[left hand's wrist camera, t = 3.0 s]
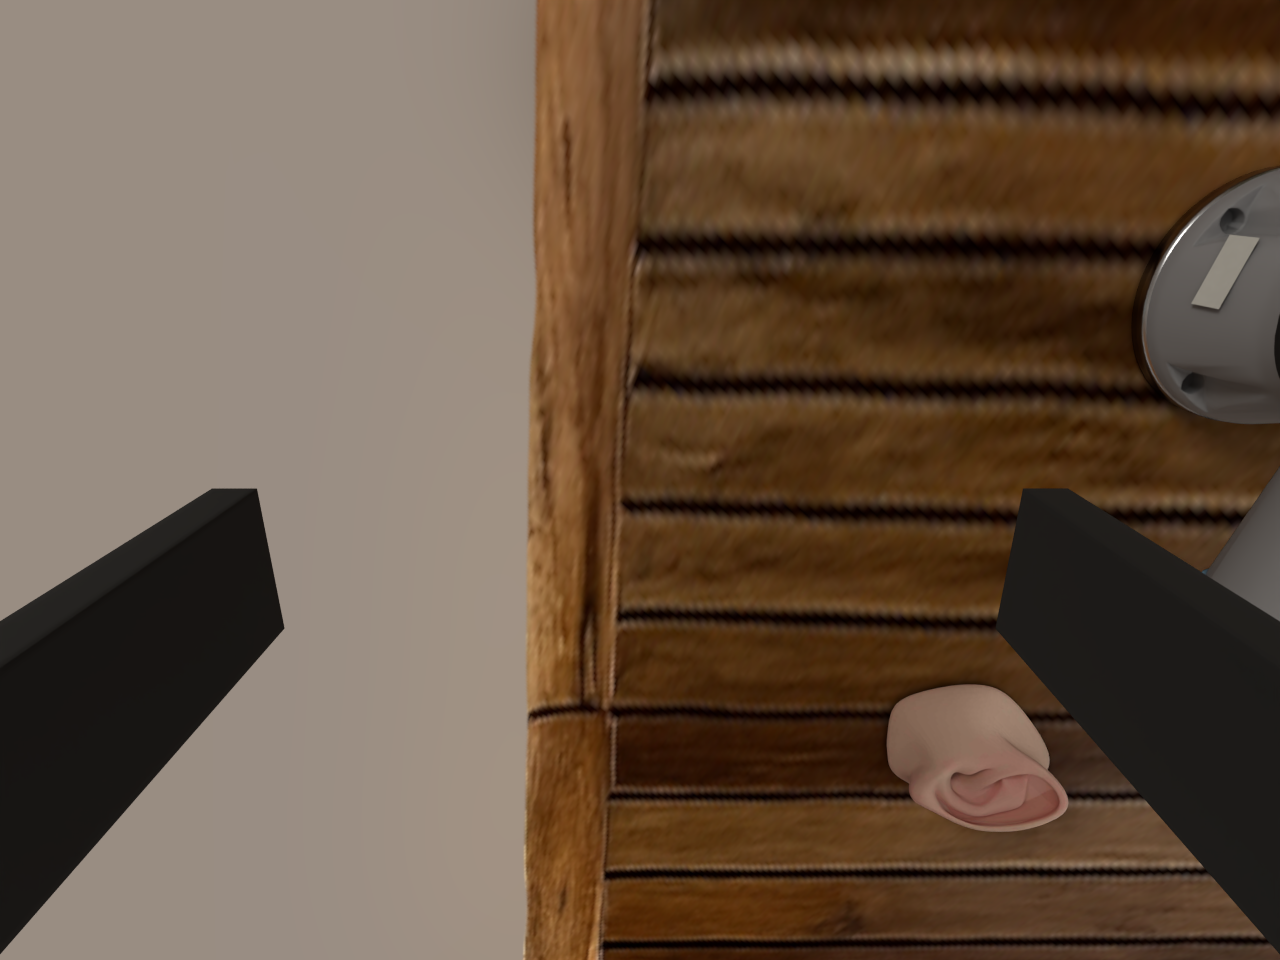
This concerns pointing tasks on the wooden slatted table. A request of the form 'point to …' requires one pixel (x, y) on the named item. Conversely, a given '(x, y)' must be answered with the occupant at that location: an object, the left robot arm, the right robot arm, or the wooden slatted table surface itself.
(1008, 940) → the wooden slatted table surface
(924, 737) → the anatomical model
